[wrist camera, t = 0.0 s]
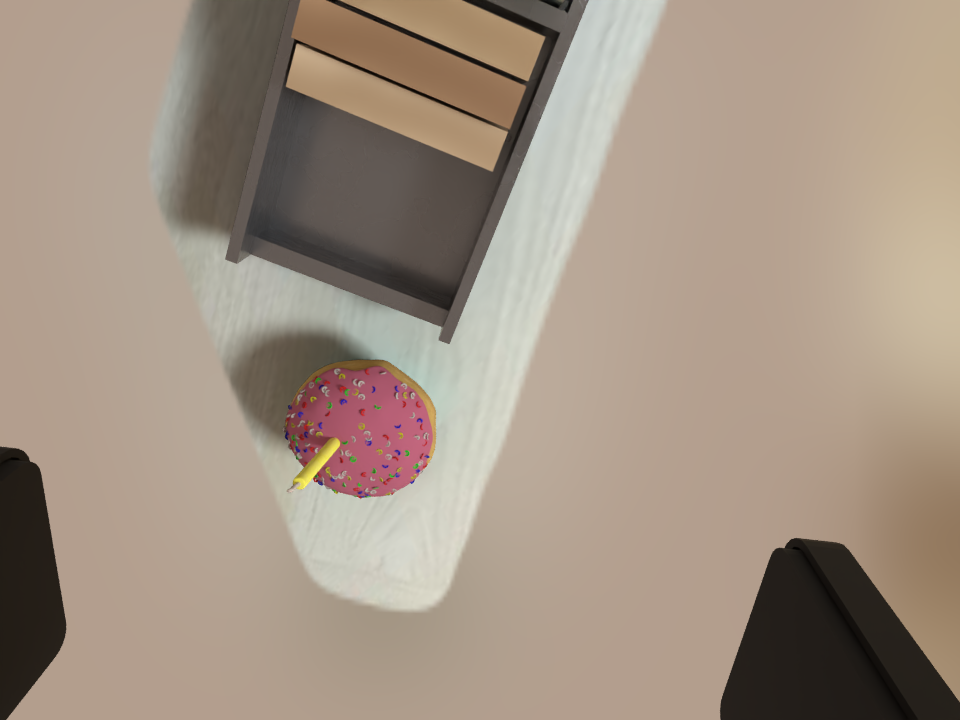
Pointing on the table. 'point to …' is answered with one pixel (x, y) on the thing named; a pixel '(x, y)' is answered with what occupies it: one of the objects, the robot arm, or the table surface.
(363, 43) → the offcuts
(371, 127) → the bin
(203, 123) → the table surface
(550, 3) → the grey flat panel
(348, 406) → the cupcake
